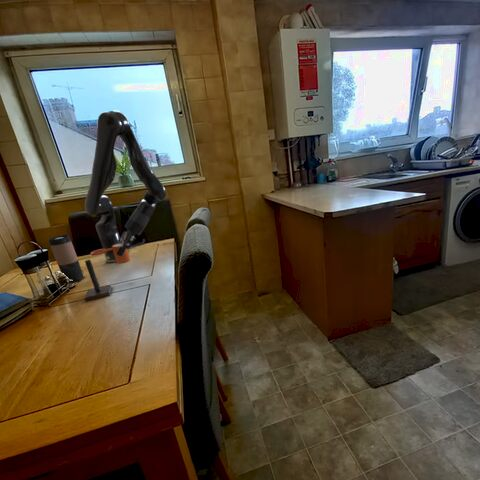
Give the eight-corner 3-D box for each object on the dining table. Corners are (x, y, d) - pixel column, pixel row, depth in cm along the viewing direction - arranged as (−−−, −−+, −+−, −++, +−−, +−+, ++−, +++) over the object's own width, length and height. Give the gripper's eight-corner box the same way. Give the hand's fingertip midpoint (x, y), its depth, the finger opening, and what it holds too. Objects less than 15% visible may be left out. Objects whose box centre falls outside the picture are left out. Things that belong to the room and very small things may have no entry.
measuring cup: (129, 258, 132) (124, 242, 129) (132, 261, 127) (127, 244, 124) (95, 267, 124) (89, 250, 121) (97, 270, 119) (91, 253, 117)
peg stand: (89, 293, 109) (77, 259, 104) (111, 287, 112) (100, 255, 107) (86, 301, 102) (72, 266, 97) (109, 295, 105) (98, 261, 100)
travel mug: (88, 275, 129) (73, 234, 122) (76, 283, 122) (59, 239, 115) (73, 276, 130) (57, 235, 123) (60, 283, 123) (43, 240, 116)
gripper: (126, 216, 131) (106, 246, 129) (133, 219, 120) (112, 253, 118) (140, 224, 135) (121, 254, 133) (149, 228, 124) (128, 261, 122)
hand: (117, 253), depth 125 cm, fingers closed on measuring cup, 6 cm apart
